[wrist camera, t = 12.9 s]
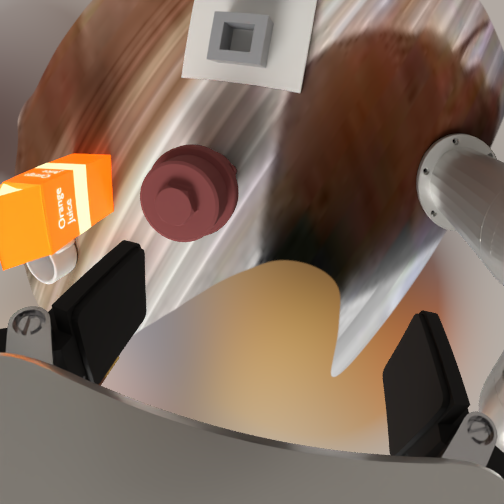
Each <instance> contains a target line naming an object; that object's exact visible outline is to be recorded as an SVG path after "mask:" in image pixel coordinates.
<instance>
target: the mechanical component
mask: <svg viewBox="0 0 504 504" xmlns="http://www.w3.org/2000/svg"><path fill="white" fill-rule="evenodd" d="M236 173H237V169H236V167H235V166H234V165H232V164H231V163H230V161H229V160H228V159H227V158H226V157H225V156H224V155H222V154H220V153H218V152H215V151H214V150H212V149H210V148H207V147H205V146H201V145H193V144H192V145H183V146H179V147H176V148H174V149H172V150H170V151H168V152H166V153H164V154H163V155H162V156H161V157H160V158H159V159H158V160H157V161H156V162H155V164H154V165H153V167H152V169H151V171H149V173H148V174H147V175H146V177H145V179H144V181H143V183H142V186H141V192H140V201H141V207H142V210H143V213H144V215H145V217H146V219H147V221H148V222H149V224H150V225H151V226H152V227H153V228H154V229H155V230H156V231H157V232H158V233H160V234H161V235H162V236H164V237H166V238H168V239H171V240H174V241H178V242H191V241H195V240H198V239H200V238H202V237H203V236H206V235H209V234H212V233H214V232H216V231H218V230H219V229H220V228H222V227H223V226H224V225H225V224H226V223H227V221H228V220H229V218H230V217H231V215H232V214H233V212H234V210H235V208H236V205H237V201H238V184H237V179H236Z"/></svg>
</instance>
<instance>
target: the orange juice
mask: <svg viewBox="0 0 504 504" xmlns="http://www.w3.org/2000/svg"><path fill="white" fill-rule="evenodd" d="M113 211H114V209H113V195H112V175H111V155H103V154H70V155H68V156H65V157H62V158H60V159H57V160H54V161H52V162H49V163H46V164H43V165H41V166H38V167H36V168H34V169H32V170H29V171H27V172H25V173H22V174H20V175H18V176H15V177H13V178H11V179H9V180H6V181H4V182H3V183H2V184H1V185H0V261H1V265H2V268H3V270H5V269H9V268H12V267H15V266H18V265H20V264H24V263H27V262H30V261H33V260H36V259H39V258H42V257H45V256H48V255H53V254H54V253H55V252H57V251H58V250H59V249H61V248H62V247H63V246H65V245H66V244H67V243H69V242H70V241H72V240H73V239H74V238H76V237H77V236H78V235H81V234H82V233H83V232H85V231H86V230H88V229H89V228H90V227H91V226H93V225H94V224H95V223H97V222H98V221H100V220H101V219H103V218H104V217H106V216H107V215H109V214H110V213H112V212H113Z"/></svg>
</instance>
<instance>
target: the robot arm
mask: <svg viewBox="0 0 504 504" xmlns="http://www.w3.org/2000/svg"><path fill="white" fill-rule="evenodd" d="M453 139H454V142H453ZM425 168H426V171H425V172H423V170H424V169H425ZM417 193H418V198H419V201H420V203H421V206H422V208H423V209H424V211H425V213H426V214H427V215H428V217H429V218H430V219H431V220H432V221H433V222H434V223H436V224H437V225H439V226H440V227H442V228H444V229H447V230H450V231H457V232H458V233H459V234H460V235H461V236H462V238H463V239H464V240H465V241H466V242H467V244H468V245H469V246H470V247H471V248H472V250H473V251H474V252H475V253H476V255H477V256H478V257H479V258H480V259H481V261H482V262H483V263H484V265H485V266H486V267H487V269H488V270H489V271H490V272H491V273H492V275H493V276H494V277H495V278H496V279H497V280H498V281H499V282H500V283H501V284H502V285H503V286H504V163H503V162H501V161H499V160H497V158H496V156H495V154H494V153H493V151H492V150H491V149H490V147H489V146H488V145H487V144H485V143H484V142H483V141H482V140H480V139H478V138H476V137H474V136H471V135H467V134H462V133H460V134H451V135H447V136H445V137H443V138H441V139H439V140H437V141H436V142H435V143H434V144H433V145H431V146H430V148H429V149H428V150H427V151H426V153H425V154H424V156H423V158H422V160H421V162H420V165H419V168H418V173H417ZM431 211H433V212H432V213H431ZM145 315H146V293H145V253H144V250H143V249H141V247H140V245H139V244H138V243H134V242H130V241H126V240H123V241H122V242H120V243H119V244H118V245H117V246H116V247H115V248H114V249H112V250H111V251H110V252H109V253H108V254H107V255H105V256H104V257H103V258H102V259H101V260H100V261H99V262H98V263H96V264H95V265H94V266H93V267H92V268H91V269H90V270H89V271H88V272H86V273H85V274H84V275H83V276H82V277H81V278H80V279H79V280H78V281H77V282H76V283H75V284H73V285H72V286H71V287H70V288H69V289H68V290H67V291H66V292H65V293H64V294H63V295H62V296H61V297H60V298H59V299H58V300H57V301H56V302H55V303H53V304H52V309H51V310H50V311H49V312H47V311H46V310H45V309H43V308H41V307H36V306H31V307H26V308H23V309H20V310H18V311H17V312H16V313H14V314H13V315H12V317H11V318H10V320H9V323H8V328H3V329H0V504H504V351H503V353H502V354H501V356H500V358H499V359H498V361H497V363H496V364H495V366H494V368H493V369H492V371H491V373H490V374H489V376H488V378H487V379H486V381H485V383H484V386H483V388H482V391H481V394H480V399H479V412H471V413H469V412H468V407H469V405H470V403H469V400H468V396H467V393H466V390H465V387H464V384H463V381H462V378H461V375H460V372H459V369H458V366H457V363H456V360H455V357H454V355H453V352H452V349H451V346H450V344H449V341H448V339H447V336H446V334H445V331H444V328H443V326H442V323H441V321H440V319H439V316H438V314H436V313H432V312H427V311H421V312H420V313H419V314H415V315H414V317H413V319H412V320H411V322H410V324H409V326H408V328H407V330H406V331H405V333H404V335H403V337H402V339H401V341H400V342H399V344H398V346H397V347H396V349H395V351H394V353H393V354H392V356H391V358H390V359H389V361H388V363H387V364H386V366H385V368H384V371H383V384H384V393H385V402H386V411H387V423H388V435H389V449H390V455H379V454H367V453H356V452H347V451H338V450H330V449H323V448H316V447H310V446H304V445H298V444H292V443H287V442H282V441H276V440H272V439H267V438H262V437H257V436H253V435H249V434H245V433H241V432H236V431H232V430H229V429H225V428H221V427H217V426H213V425H210V424H207V423H203V422H200V421H197V420H193V419H190V418H187V417H183V416H180V415H177V414H174V413H171V412H168V411H165V410H162V409H159V408H157V407H153V406H151V405H148V404H145V403H142V402H140V401H137V400H135V399H132V398H130V397H127V396H125V395H122V394H120V393H117V392H114V391H112V390H110V389H107V388H105V387H102V386H100V385H98V384H100V382H101V381H102V380H103V378H104V377H105V375H106V374H107V372H108V371H109V369H110V368H111V366H112V365H113V363H114V362H115V360H116V359H117V357H118V356H119V355H120V353H121V351H122V350H123V349H124V347H125V346H126V344H127V343H128V342H129V340H130V339H131V337H132V336H133V334H134V333H135V332H136V330H137V329H138V327H139V326H140V324H141V323H142V322H143V320H144V318H145ZM495 445H496V446H495ZM502 451H503V452H502Z"/></svg>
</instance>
